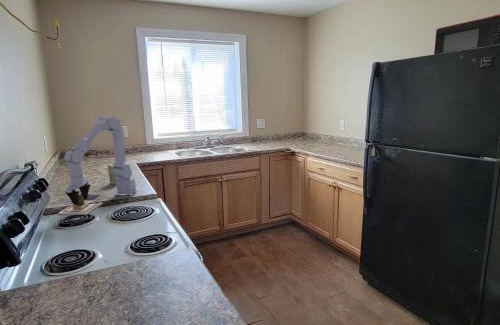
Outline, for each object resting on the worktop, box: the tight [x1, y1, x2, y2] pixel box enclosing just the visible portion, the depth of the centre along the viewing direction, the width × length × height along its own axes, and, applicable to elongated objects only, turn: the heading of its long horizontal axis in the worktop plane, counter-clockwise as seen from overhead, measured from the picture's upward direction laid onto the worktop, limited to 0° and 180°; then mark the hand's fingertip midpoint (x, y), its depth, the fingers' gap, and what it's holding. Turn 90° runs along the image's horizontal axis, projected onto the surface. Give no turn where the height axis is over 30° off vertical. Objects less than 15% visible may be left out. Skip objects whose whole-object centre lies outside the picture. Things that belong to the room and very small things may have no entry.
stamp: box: [73, 194, 89, 209], centre depth 151 cm, size 5×5×6 cm
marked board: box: [57, 201, 103, 216], centre depth 152 cm, size 14×14×1 cm
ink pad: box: [84, 194, 103, 200], centre depth 165 cm, size 8×8×2 cm
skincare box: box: [107, 163, 116, 185], centre depth 193 cm, size 6×4×12 cm
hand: (80, 201), depth 151 cm, fingers open, 7 cm apart
